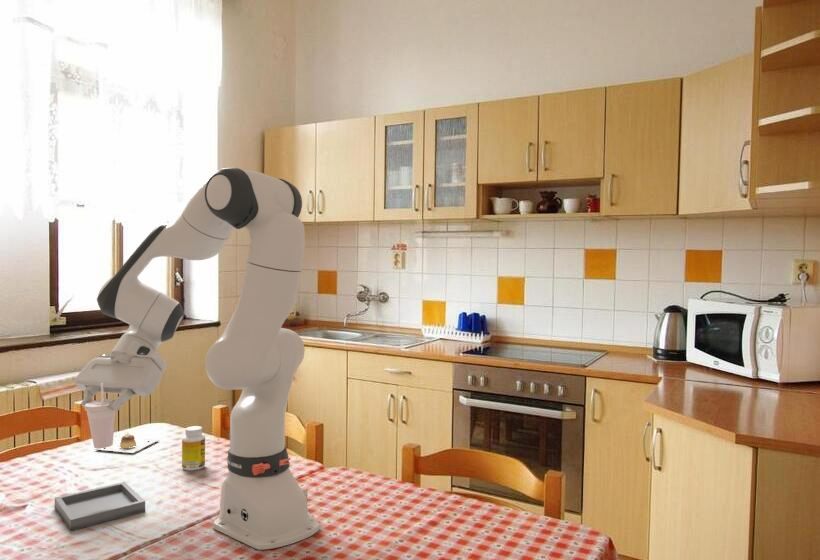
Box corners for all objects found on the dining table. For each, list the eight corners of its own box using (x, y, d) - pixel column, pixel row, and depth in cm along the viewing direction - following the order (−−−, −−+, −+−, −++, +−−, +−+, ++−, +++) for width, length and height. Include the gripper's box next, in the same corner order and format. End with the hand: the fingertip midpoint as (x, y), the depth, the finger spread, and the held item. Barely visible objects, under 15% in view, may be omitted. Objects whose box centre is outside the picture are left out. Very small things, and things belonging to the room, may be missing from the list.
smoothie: (105, 451, 128) (101, 387, 127) (80, 449, 129) (76, 386, 128) (125, 441, 134) (122, 380, 133) (101, 439, 135) (97, 379, 134)
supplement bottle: (203, 470, 149) (203, 430, 149) (180, 472, 148) (180, 431, 148) (206, 463, 155) (206, 424, 154) (183, 464, 154) (183, 425, 153)
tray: (145, 511, 125) (145, 501, 125) (70, 531, 116) (70, 520, 116) (124, 491, 136) (124, 481, 136) (54, 507, 126) (54, 497, 126)
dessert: (123, 440, 174) (123, 424, 174) (160, 443, 172) (160, 427, 172) (94, 453, 163) (94, 436, 163) (132, 456, 160) (132, 439, 160)
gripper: (89, 346, 140) (53, 396, 131) (159, 350, 134) (127, 403, 125) (104, 362, 145) (71, 411, 136) (173, 366, 138) (143, 418, 129)
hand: (98, 407), depth 130 cm, fingers closed on smoothie, 6 cm apart
